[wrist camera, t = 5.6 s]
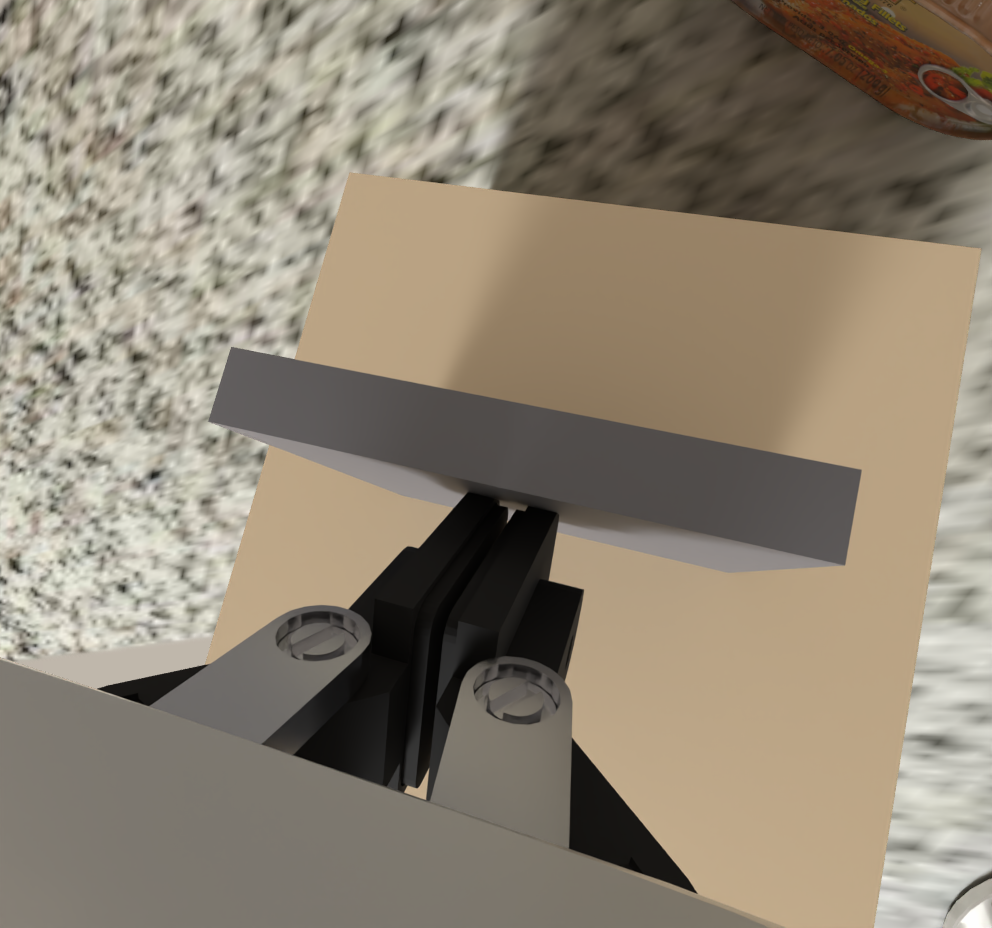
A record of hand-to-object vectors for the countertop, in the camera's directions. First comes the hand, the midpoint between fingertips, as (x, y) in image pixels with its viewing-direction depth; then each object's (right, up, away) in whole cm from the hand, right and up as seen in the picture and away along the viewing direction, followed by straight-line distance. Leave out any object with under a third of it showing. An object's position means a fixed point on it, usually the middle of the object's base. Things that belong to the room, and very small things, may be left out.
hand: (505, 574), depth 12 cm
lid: (+2, 0, +6) cm, 7 cm away
